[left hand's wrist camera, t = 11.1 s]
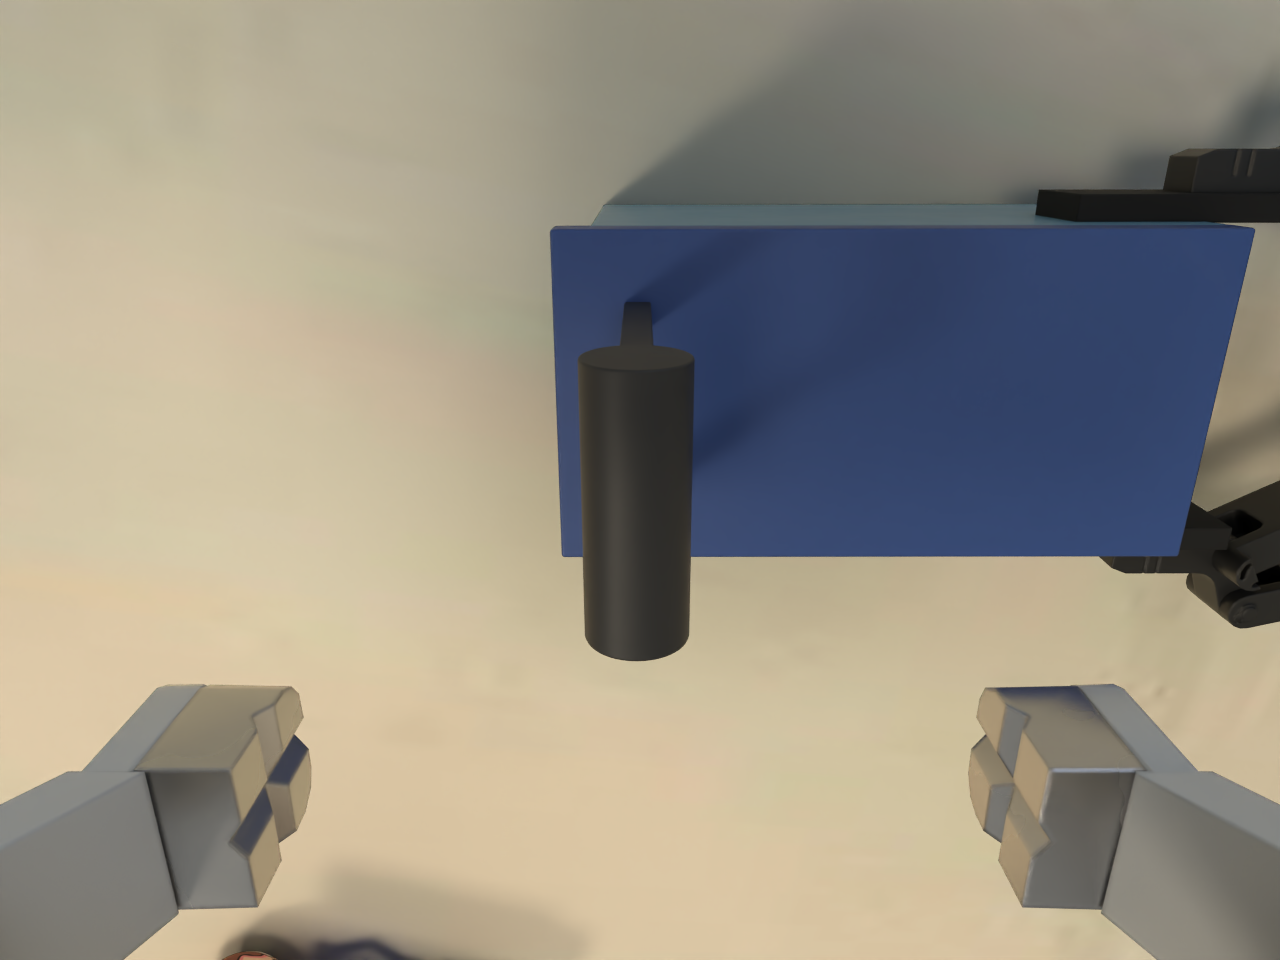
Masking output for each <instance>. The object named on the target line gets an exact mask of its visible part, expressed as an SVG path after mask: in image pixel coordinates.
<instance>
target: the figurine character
mask: <svg viewBox="0 0 1280 960" xmlns="http://www.w3.org/2000/svg"><path fill="white" fill-rule="evenodd" d="M222 960H277V959H276V958H274V957H272V956H270V955H268V954H266V953H262V952H257V951H246V952H240V953H236V954H233V955H230V956H228V957H226V958H224V959H222Z"/></svg>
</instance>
